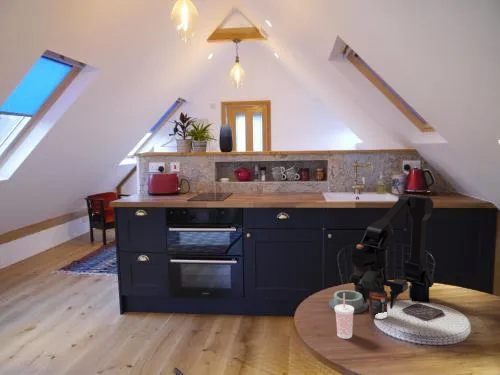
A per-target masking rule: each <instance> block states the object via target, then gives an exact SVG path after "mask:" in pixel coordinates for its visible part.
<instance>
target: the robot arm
mask: <svg viewBox="0 0 500 375" xmlns="http://www.w3.org/2000/svg"><path fill="white" fill-rule="evenodd" d="M433 208H434V200H432V198H431V197H428V196H420V195H404V194H403V195H400V196H399V197H398V199H397V201H396V202H395V203H394V204H393V205H392V206H391V208H390V209H388V212H386V214H384V216H383V217H382V218H381V219H378V220H375V221H373V222H372V223H371V224H370V225H368V227H367V228H366V230H365V233H364V234H363V238H362V239H361V241H360V245H362V246H361V247H357V246H356V248H355V250H354V251H353V252H352V254H351V256H350V258H351V262H352V264H353V266H354V265H355V266H356V267H357V268H362V267H365V266H368V270H367V272H361V271H357V272H355V271H354V273H351V275H350V277H349V281H350V283H352V284H353V286H355V285H356V286H357V287H358V288H359V289H360V291H361V293H362V296H363V300H364V301H365V302H366V303H368V298H369V297H368V288H370V289H372V290H376V289H377V287H379V286H381V287H382V286H383V285H384V287H385V286H386V287H389V289H390V291H388V292H389V295H390V297H389V298H390V299H389V309H391V310H392V309H393V307H394V305H395V303H396V301H397V299H398V296H400V294H404V293H405V292H406V291H407V290H408V297H409V299H410V300H411V302H413V301H418V302H417V303H431V299H430V288H432V287H433V286H434V283H435V279H434V277H433V276H432V274H430V268H429V267H430V266H429V264H428V262H427V260H426V244H427V243H426V241H427V239H426V238H427V224H428V219H429V218H430V217H431V216H432V214H433V210H434V209H433ZM407 213H408V214H409V216H410V218H411V220H412V221H411V222H412V223H411V240H410V242H411V243H410V256H409V259H407V261H404V263H403V267H404V268H403V274H404V277H405V280H404V279H400V278H395V279H394V280H388V279H389V275H388V267H389V263H388V249H390V248H391V246H392V245H391V244H390V243H389V241H390V240H391V238H392V237H393V235H394V229H395V227H396V226H397V225H398V223H399V222H400V221H401V220H402V219H403V218H404V216H405V215H406V214H407Z"/></svg>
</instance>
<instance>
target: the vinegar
mask: <svg viewBox="0 0 500 375" xmlns="http://www.w3.org/2000/svg"><path fill="white" fill-rule="evenodd" d="M361 246H362V245H360V244H356V247H361ZM353 266H354V273H355V272H357V271H361V272H367V270H368V266H365V267H362V268H357V267H356V266H355V265H354V264H353ZM371 290H372V289H370V288H368V298H369V293H370V291H371ZM354 291H356V292H359V293H360V294H362V293H361V291H360V289H359V288H358V287H357V286H356V285H354ZM362 297H363V296H362Z"/></svg>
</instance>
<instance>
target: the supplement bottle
mask: <svg viewBox="0 0 500 375" xmlns="http://www.w3.org/2000/svg"><path fill="white" fill-rule="evenodd" d="M368 298H369V300H368V301H369V304H368V305H369V308H368V309H369V312H368V313H369V316H370V317H371V318H372V319H375V318H374V317H375V315H376V314H378V313H384V312H387V313H388V292H387V291H386V290H385V286H384V285H383V286H382V287H381V286H379V287H377V289H376V290H371V291H370V293H369V297H368Z"/></svg>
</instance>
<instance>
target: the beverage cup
mask: <svg viewBox="0 0 500 375" xmlns="http://www.w3.org/2000/svg"><path fill="white" fill-rule="evenodd" d="M334 308H335V311H334V312H335V321H336V333H337V334H336V335H337V336H338V338H340V339H351V338H352V337H353V326H354V325H353V323H354V314H353V312H354V307H352V306H350V305H346V304H345V293H343V304H340V305H336V306H335V307H334Z"/></svg>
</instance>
